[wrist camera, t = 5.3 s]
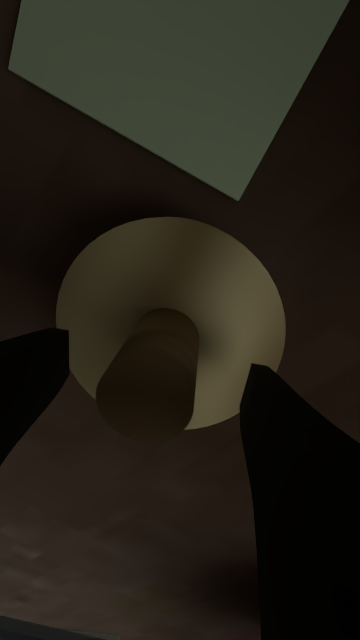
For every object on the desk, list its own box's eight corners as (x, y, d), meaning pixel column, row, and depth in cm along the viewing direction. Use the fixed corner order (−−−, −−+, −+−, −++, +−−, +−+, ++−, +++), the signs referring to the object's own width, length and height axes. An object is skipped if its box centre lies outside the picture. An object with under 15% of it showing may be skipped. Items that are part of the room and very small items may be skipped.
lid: (307, 235, 11) (393, 254, 6) (251, 428, 15) (273, 543, 10) (65, 200, 12) (-52, 190, 7) (70, 396, 16) (-1, 489, 10)
